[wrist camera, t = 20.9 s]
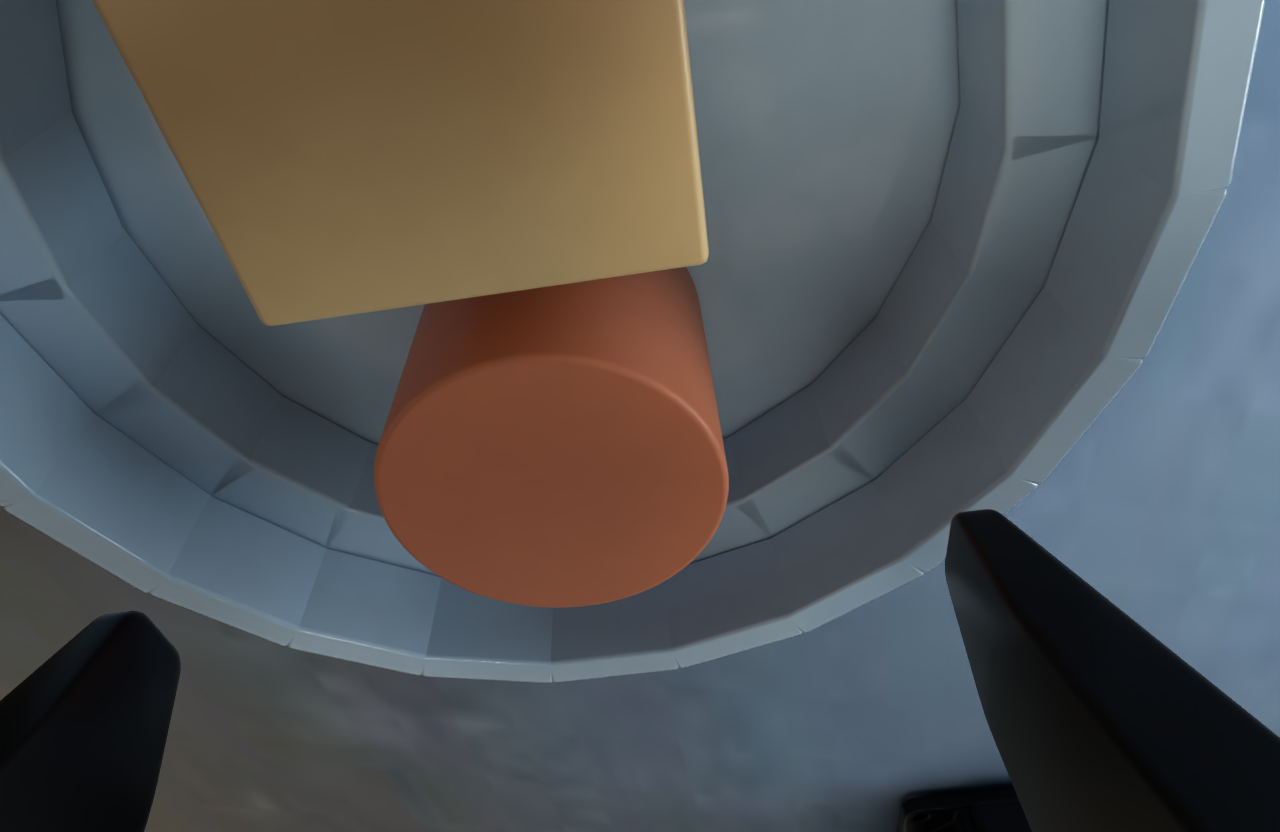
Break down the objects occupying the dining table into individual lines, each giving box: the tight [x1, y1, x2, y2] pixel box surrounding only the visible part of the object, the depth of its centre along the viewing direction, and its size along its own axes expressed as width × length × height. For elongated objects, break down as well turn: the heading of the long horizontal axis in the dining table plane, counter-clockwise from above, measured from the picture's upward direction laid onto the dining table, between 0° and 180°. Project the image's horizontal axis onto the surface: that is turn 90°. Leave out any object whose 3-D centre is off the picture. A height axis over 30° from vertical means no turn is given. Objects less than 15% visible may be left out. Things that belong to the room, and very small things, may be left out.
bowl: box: [0, 0, 1266, 683], centre depth 10 cm, size 15×15×4 cm
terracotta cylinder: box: [374, 267, 729, 608], centre depth 12 cm, size 4×4×4 cm
